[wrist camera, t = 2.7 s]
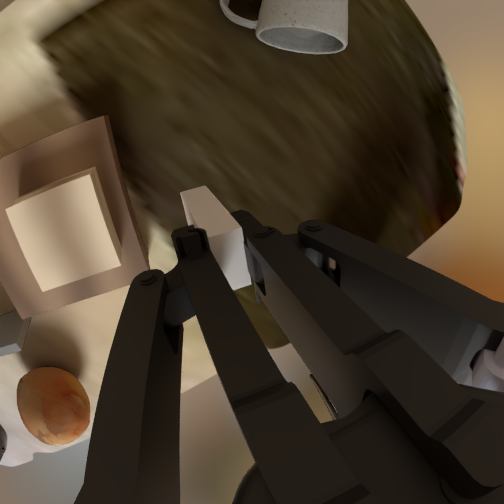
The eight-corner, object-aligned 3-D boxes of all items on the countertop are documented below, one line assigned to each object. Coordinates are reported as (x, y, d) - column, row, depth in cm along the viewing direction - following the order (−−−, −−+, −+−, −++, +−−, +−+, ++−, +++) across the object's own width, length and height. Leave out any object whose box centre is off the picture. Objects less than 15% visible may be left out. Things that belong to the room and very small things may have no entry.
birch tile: (50, 272, 21) (42, 292, 19) (18, 197, 18) (5, 209, 15) (121, 248, 23) (121, 265, 20) (95, 166, 19) (89, 174, 17)
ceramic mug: (321, -6, 22) (368, -25, 15) (315, 58, 25) (364, 50, 19) (222, -32, 18) (251, -68, 11) (211, 38, 21) (237, 14, 15)
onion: (79, 406, 33) (82, 465, 25) (17, 382, 28) (8, 442, 20) (101, 368, 32) (105, 435, 24) (29, 338, 27) (15, 405, 18)
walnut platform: (31, 296, 25) (22, 319, 22) (-21, 171, 18) (-41, 182, 14) (148, 257, 28) (151, 277, 25) (108, 115, 21) (103, 115, 18)
